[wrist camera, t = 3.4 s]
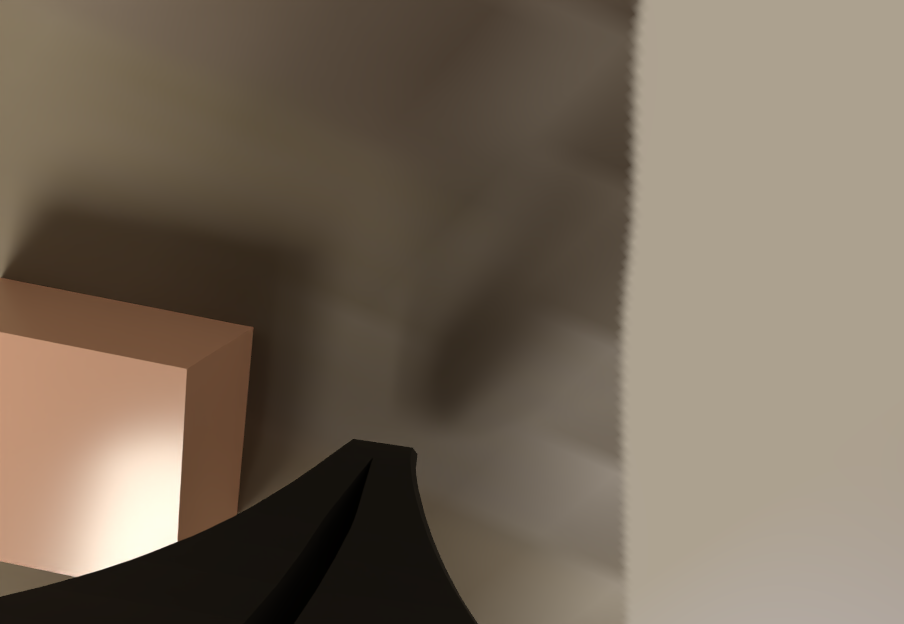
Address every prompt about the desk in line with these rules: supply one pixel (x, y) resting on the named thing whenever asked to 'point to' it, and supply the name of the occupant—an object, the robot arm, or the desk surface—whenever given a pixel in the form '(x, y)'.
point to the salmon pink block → (114, 427)
